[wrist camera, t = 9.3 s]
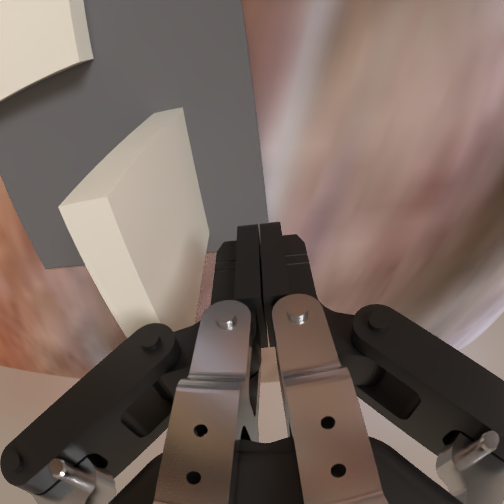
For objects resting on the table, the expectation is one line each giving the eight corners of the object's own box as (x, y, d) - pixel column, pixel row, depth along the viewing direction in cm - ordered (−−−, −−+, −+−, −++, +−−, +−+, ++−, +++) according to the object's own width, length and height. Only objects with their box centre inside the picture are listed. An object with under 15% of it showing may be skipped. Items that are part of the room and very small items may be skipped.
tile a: (63, -64, 7) (-54, 21, 7) (79, 61, 11) (-36, 123, 12) (78, -58, 8) (-37, 18, 9) (94, 58, 13) (-20, 114, 13)
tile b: (182, 107, 15) (107, 196, 7) (209, 232, 20) (187, 375, 12) (151, 113, 15) (54, 208, 7) (182, 235, 20) (148, 374, 12)
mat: (224, -104, 7) (224, -107, 7) (270, 242, 21) (270, 246, 20) (-34, 12, 9) (-38, 12, 8) (47, 265, 22) (45, 268, 22)
